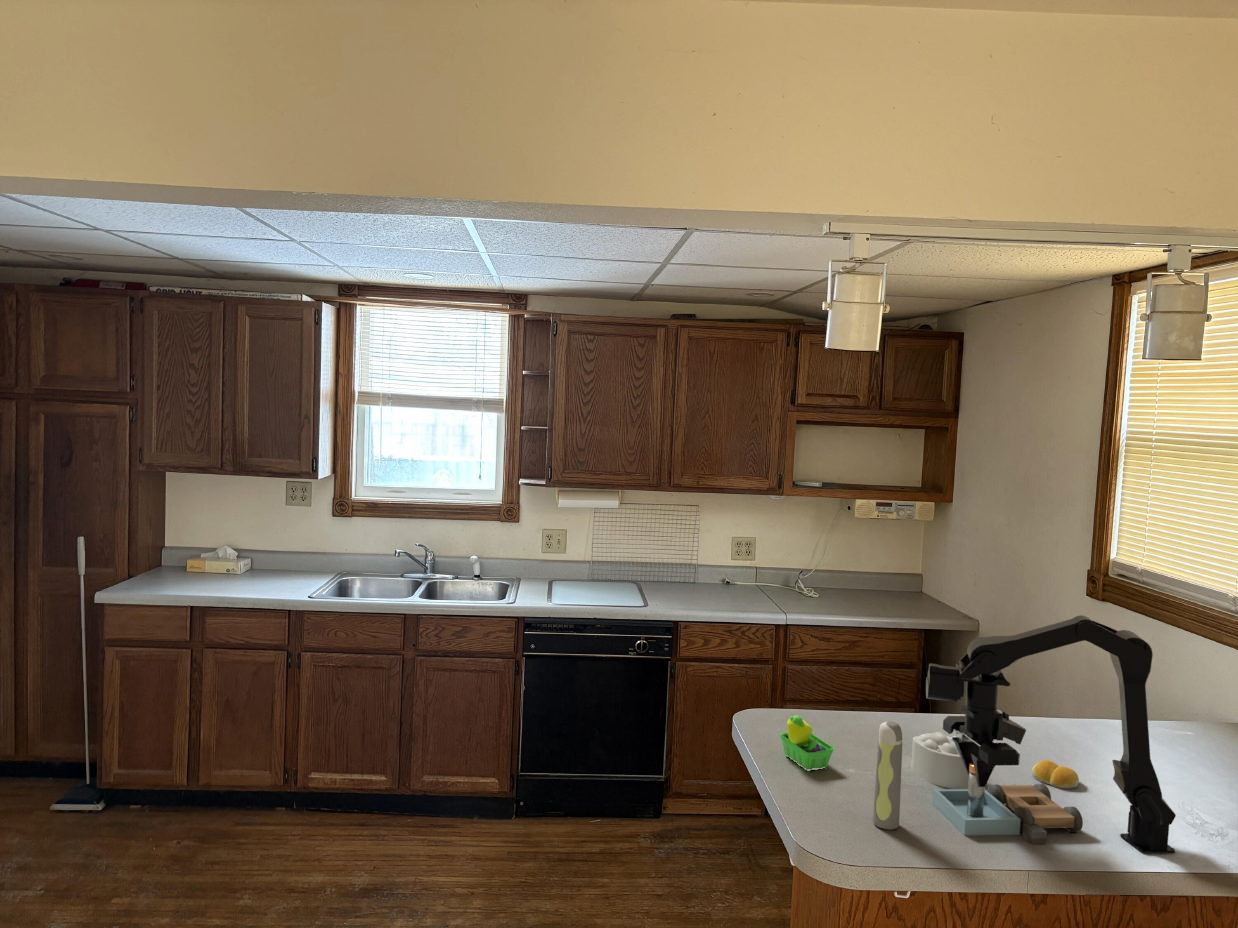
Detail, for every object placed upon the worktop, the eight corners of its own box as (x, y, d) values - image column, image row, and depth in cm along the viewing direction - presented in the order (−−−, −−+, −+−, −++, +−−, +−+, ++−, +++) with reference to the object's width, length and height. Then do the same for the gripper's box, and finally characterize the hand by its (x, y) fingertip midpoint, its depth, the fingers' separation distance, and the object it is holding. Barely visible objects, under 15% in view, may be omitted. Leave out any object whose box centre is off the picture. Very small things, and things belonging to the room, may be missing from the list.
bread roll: (1070, 793, 180) (1071, 775, 180) (1027, 779, 187) (1028, 761, 187) (1085, 783, 186) (1086, 765, 186) (1043, 769, 192) (1044, 752, 192)
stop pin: (986, 817, 165) (989, 767, 165) (971, 817, 165) (974, 767, 165) (978, 810, 168) (981, 761, 168) (963, 810, 168) (966, 761, 168)
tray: (1019, 834, 161) (1020, 819, 161) (964, 835, 160) (965, 819, 160) (983, 803, 174) (984, 788, 174) (932, 803, 173) (933, 789, 173)
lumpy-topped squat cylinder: (940, 762, 194) (943, 725, 194) (984, 786, 182) (986, 747, 182) (904, 768, 190) (906, 730, 190) (946, 792, 178) (949, 752, 178)
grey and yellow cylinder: (878, 816, 166) (883, 716, 165) (902, 824, 163) (908, 722, 162) (868, 824, 163) (873, 723, 161) (893, 833, 160) (898, 729, 158)
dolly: (1091, 843, 158) (1093, 820, 158) (1031, 844, 157) (1033, 821, 157) (1037, 800, 176) (1039, 780, 175) (983, 801, 174) (984, 780, 174)
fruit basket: (835, 770, 187) (837, 720, 187) (801, 775, 184) (803, 725, 184) (805, 751, 198) (807, 703, 197) (772, 755, 195) (775, 707, 194)
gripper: (1049, 721, 157) (1043, 803, 158) (995, 688, 176) (990, 762, 176) (991, 721, 156) (987, 804, 157) (943, 688, 174) (939, 762, 175)
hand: (976, 781), depth 166 cm, fingers open, 4 cm apart
